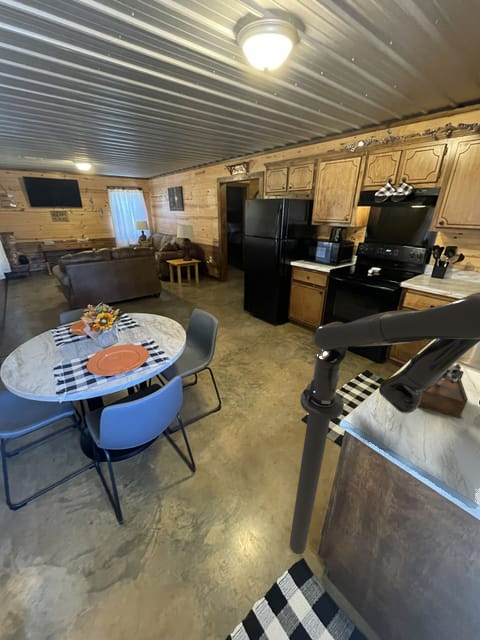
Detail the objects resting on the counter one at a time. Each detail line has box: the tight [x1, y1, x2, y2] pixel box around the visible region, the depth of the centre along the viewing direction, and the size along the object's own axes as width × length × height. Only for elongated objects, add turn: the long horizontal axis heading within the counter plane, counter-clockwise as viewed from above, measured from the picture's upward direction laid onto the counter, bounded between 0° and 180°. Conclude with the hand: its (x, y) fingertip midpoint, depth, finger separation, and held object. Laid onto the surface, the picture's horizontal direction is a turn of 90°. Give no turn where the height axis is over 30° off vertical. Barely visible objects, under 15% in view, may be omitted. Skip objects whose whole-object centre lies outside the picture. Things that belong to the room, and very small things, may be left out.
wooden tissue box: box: [418, 378, 469, 419], centre depth 100 cm, size 16×14×8 cm
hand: (443, 361), depth 94 cm, fingers open, 8 cm apart
